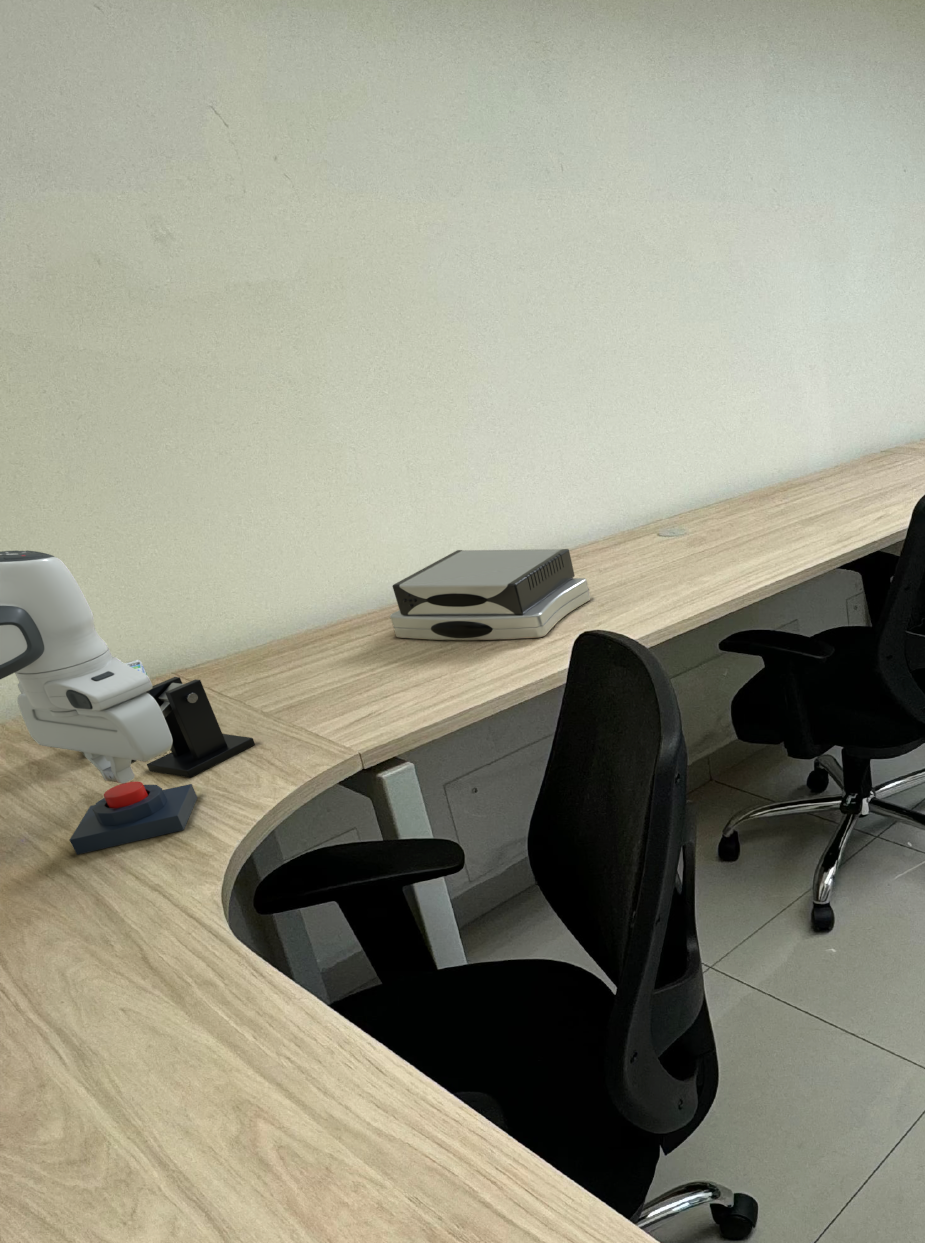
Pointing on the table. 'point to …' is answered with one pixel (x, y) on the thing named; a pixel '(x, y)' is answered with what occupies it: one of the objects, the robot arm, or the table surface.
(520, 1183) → the table surface
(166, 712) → the switch lever
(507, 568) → the satellite receiver
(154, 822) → the button block
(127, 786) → the button
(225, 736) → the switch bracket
